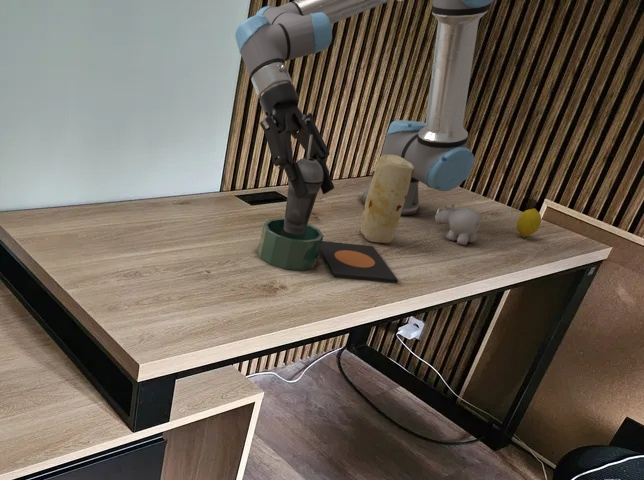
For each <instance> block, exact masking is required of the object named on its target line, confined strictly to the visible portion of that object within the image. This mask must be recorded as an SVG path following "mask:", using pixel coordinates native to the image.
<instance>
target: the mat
mask: <svg viewBox="0 0 644 480" xmlns="http://www.w3.org/2000/svg"><path fill="white" fill-rule="evenodd" d="M319 255H320V256H321V258H322V259H323V261H324V263H325V265H326V266H327V268H328V269H329V272H331V275H332V277H333V278H340V279H352V280H361V281H373V282H381V283H390V284H391V283H393V284H397V283H398V281H399V279H398V278H397V277H396V275H395V274H394V272H393V271H392V270H391V269H390V267H389V266H388V264H387V263H386V262H385V260H384V259H383V258H382V256H381V255H380V254H379V253H378V251H377V250H376V248H375V247H374V246H373V245H367V244H366V245H365V244H355V243H346V242H336V241H327V240H322V244H321V248H320V252H319Z"/></svg>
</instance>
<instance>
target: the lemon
mask: <svg viewBox="0 0 644 480" xmlns="http://www.w3.org/2000/svg"><path fill="white" fill-rule="evenodd" d="M541 223H542V215H541V214H540V212H539V211H538V210H537V209H536V208H529V209H526V210H524V211H523V212H522V213H520V215H519V216H518V218H517V221H516V225H515V226H516V231H517V232H518V233H519V234H520V237H522V238H525V237H528V236H532V235H534V234H535V233H536V232H537V231H538V230H539V228H540V226H541Z"/></svg>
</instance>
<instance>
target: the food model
mask: <svg viewBox="0 0 644 480" xmlns="http://www.w3.org/2000/svg"><path fill="white" fill-rule="evenodd" d="M374 171H375V172H374V175H372V178H371V181H370V182H371V185H370V188H369V191H368V195H367V198H366V202H365V204H364V207H363V211H362V216H361V224H360V232H361V234H362V235H363V236H364V239H365V240H367V241H368V242H372V243H382V244H389V243H391V242H392V241H393V239H394V235H395V232H396V230H397V227H398V225H399V222H400V219H401V217H402V215H401V212H402V209H403V206H404V203H405V200H406V196H407V193H408V189H409V185H410V181H411V177H412V174H413V171H414V167H413V165H412V164H411V163H410V162H408V161H406V160H405V159H403V158H401V157H399V156H396V155H382V156H381V155H380V157H379V158H378V161H377V164H376V168H375V170H374Z"/></svg>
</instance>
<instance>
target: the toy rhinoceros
mask: <svg viewBox="0 0 644 480" xmlns="http://www.w3.org/2000/svg"><path fill="white" fill-rule="evenodd" d="M436 210H437V211H436V214H435V215H434V221H435V222H436V223H437V224H445V225H449V231H448V232H447V234H446V239H447V240H448V241H453V242H455V241H456V244H458V245H463V246H466V245H467V244H468V243H475V242H476V241H477V236H478V235H477V232H478V230H479V228H480V226H481V222H482V221H481V216H480V214H479V212H477V211H476V209H473V208H472V207H461V208H459V209H457V210H456V209H455V204H452V205H451V206H450V207H448V205H444V209H442V210H441V209H440V207H438V209H436Z"/></svg>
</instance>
